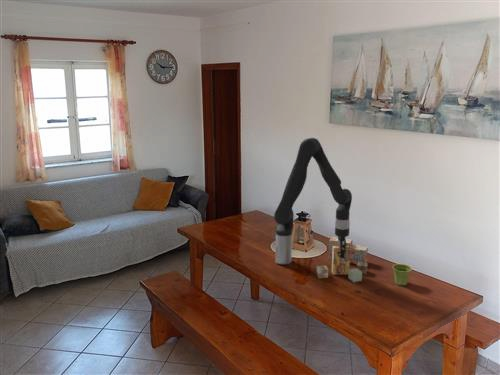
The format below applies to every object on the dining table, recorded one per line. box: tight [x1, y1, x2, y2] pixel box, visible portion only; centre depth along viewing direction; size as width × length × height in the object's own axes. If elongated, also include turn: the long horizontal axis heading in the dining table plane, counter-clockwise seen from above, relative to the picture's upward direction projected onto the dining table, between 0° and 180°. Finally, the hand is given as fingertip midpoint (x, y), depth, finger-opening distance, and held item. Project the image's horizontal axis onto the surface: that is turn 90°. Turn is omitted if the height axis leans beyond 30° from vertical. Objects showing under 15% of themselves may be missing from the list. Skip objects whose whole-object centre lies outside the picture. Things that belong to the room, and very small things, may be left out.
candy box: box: [331, 246, 350, 276], centre depth 241 cm, size 9×4×15 cm, turn 92°
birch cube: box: [316, 265, 329, 279], centre depth 239 cm, size 5×5×5 cm
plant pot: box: [392, 263, 413, 287], centre depth 230 cm, size 9×9×9 cm
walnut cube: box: [356, 262, 368, 276], centre depth 243 cm, size 5×5×5 cm
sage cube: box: [347, 267, 363, 283], centre depth 235 cm, size 5×5×5 cm
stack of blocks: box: [328, 236, 369, 265], centre depth 258 cm, size 21×6×12 cm, turn 63°
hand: (341, 254), depth 240 cm, fingers open, 8 cm apart
